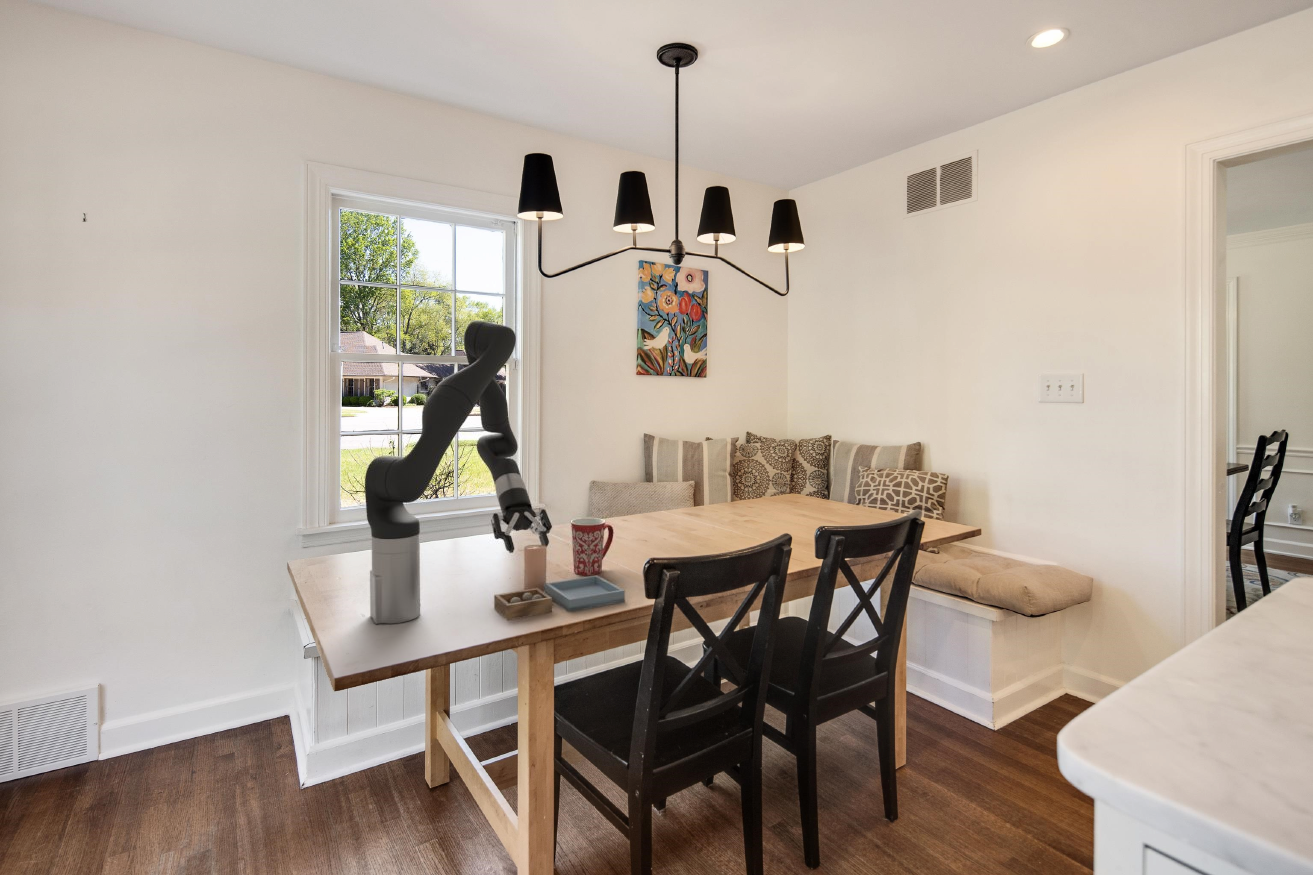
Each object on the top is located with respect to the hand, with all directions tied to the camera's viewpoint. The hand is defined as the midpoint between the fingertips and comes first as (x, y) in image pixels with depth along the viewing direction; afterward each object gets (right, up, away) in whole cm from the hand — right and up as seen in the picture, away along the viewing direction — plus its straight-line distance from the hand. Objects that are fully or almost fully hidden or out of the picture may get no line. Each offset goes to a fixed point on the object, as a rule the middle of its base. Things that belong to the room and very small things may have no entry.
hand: (529, 549), depth 158 cm
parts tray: (+2, -10, -18) cm, 21 cm away
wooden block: (+2, -9, -3) cm, 10 cm away
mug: (+14, -8, +14) cm, 21 cm away
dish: (+14, -10, -9) cm, 19 cm away
